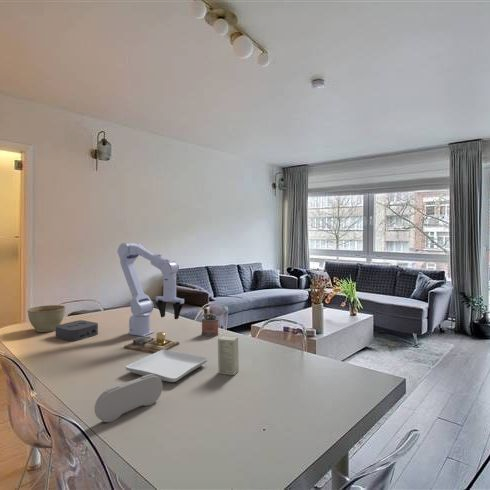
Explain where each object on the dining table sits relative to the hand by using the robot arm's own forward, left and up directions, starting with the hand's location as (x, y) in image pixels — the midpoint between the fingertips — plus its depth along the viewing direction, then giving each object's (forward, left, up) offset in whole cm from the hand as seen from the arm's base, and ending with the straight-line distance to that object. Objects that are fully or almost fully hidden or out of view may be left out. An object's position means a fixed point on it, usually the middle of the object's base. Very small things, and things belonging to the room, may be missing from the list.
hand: (169, 317), depth 162 cm
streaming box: (-41, -15, -10) cm, 45 cm away
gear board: (0, -12, -9) cm, 15 cm away
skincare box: (+42, -24, -10) cm, 49 cm away
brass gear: (+4, -12, -9) cm, 15 cm away
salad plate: (+22, -31, -10) cm, 39 cm away
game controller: (+30, -59, -10) cm, 67 cm away
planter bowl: (-62, -14, -10) cm, 65 cm away
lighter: (+14, +13, -10) cm, 21 cm away
